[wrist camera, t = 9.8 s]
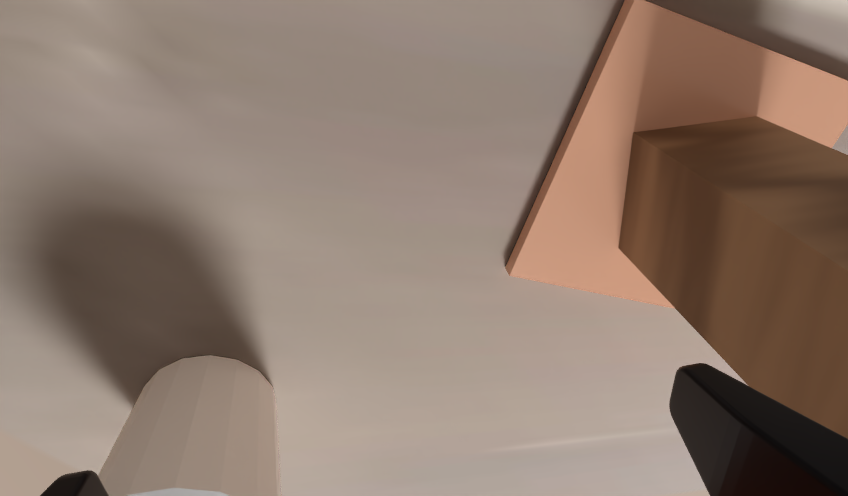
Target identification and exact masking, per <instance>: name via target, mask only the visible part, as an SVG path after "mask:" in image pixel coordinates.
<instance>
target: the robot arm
mask: <svg viewBox="0 0 848 496" xmlns="http://www.w3.org/2000/svg"><path fill="white" fill-rule="evenodd" d="M670 412H671V416H672V418H673V420H674V422H675V424H676V426H677V428H678V431H679V433H680V435H681V437H682V439H683V441H684V443H685V445H686V447H687V449H688V451H689V453H690V455H691V457H692V459H693V461H694V463H695V466H696V468H697V470H698V472H699V474H700V476H701V478H702V480H703V482H704V484H705V486H706V488H707V490H708V492H709V494H710V496H848V438H846V437H844V436H842V435H840V434H838V433H836V432H834V431H833V430H831V429H829V428H827V427H825V426H823V425H821V424H819V423H817V422H815V421H814V420H812V419H810V418H808V417H806V416H804V415H802V414H800V413H798V412H797V411H795V410H793V409H791V408H789V407H787V406H785V405H783V404H781V403H780V402H778V401H776V400H774V399H772V398H770V397H768V396H766V395H764V394H763V393H761V392H759V391H757V390H755V389H753V388H751V387H749V386H747V385H746V384H744V383H742V382H740V381H738V380H736V379H734V378H732V377H730V376H729V375H727V374H725V373H723V372H721V371H719V370H717V369H715V368H713V367H712V366H710V365H707V364H704V363H698V364H692V365H687V366H682V367H680V368H679V369H678V370H677V372H676V375H675V380H674V384H673V389H672V393H671V397H670ZM40 496H109V495H108V493H107V491H106V490H105V488H104V486H103V484H102V482H101V481H100V479H99V477H98V475H97V474H96V473H95V472H93V471H88V470H87V471H82V472H76V473H71V474H65V475H63V476H61V477H59V478H58V479H57V480H56V481H54V482H53V483H52V484H51V485H50V486H49V487H48V488H47V490H45V491H44V492H43V493H42V494H41V495H40Z"/></svg>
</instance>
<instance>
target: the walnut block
mask: <svg viewBox="0 0 848 496" xmlns="http://www.w3.org/2000/svg"><path fill="white" fill-rule="evenodd" d="M618 248H619V249H620V250H621V252H622V253H623V254H624V255H625V256H626V257H627V258H628V259H629V260H630V261H631V262H632V263H633V264H634V265H635V266H636V267H637V268H638V269H639V271H640V272H641V273H642V274H643V275H644V276H645V277H646V278H647V279H648V280H649V281H650V282H651V283H652V284H653V285H654V286H655V287H656V289H657V290H658V291H659V292H660V293H661V294H662V295H663V296H664V297H665V298H666V299H667V300H668V301H669V302H670V303H671V304H672V305H673V306H674V308H675V309H676V310H677V311H678V312H679V313H680V314H681V315H682V316H683V317H684V318H685V319H686V320H687V321H688V322H689V323H690V324H691V325H692V327H693V328H694V329H695V330H696V331H697V332H698V333H699V334H700V335H701V336H702V337H703V338H704V339H705V340H706V341H707V342H708V343H709V344H710V346H711V347H712V348H713V349H714V350H715V351H716V352H717V353H718V354H719V355H720V356H721V357H722V358H723V359H724V360H725V361H726V362H727V363H728V365H729V366H730V367H731V368H732V369H733V370H734V371H735V372H736V373H737V374H738V375H739V376H740V377H741V378H742V379H743V380H744V381H745V382H746V384H747V385H748V386H749V387H751V388H753V389H755V390H757V391H759V392H761V393H763V394H764V395H766V396H768V397H770V398H772V399H774V400H776V401H778V402H780V403H781V404H783V405H785V406H787V407H789V408H791V409H793V410H795V411H797V412H798V413H800V414H802V415H804V416H806V417H808V418H810V419H812V420H814V421H815V422H817V423H819V424H821V425H823V426H825V427H827V428H829V429H831V430H833V431H834V432H836V433H838V434H840V435H842V436H844V437H846V438H848V155H846V154H844V153H841V152H839V151H837V150H834V149H832V148H830V147H827V146H825V145H823V144H820V143H818V142H816V141H813V140H811V139H809V138H806V137H804V136H802V135H799V134H797V133H795V132H792V131H790V130H788V129H785V128H783V127H781V126H778V125H776V124H774V123H771V122H769V121H767V120H764V119H762V118H760V117H757V116H755V117H747V118H740V119H732V120H724V121H717V122H709V123H701V124H694V125H686V126H678V127H671V128H663V129H655V130H648V131H640V132H633V137H632V145H631V152H630V160H629V168H628V176H627V184H626V192H625V200H624V208H623V215H622V223H621V231H620V239H619V247H618Z"/></svg>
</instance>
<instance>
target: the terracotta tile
mask: <svg viewBox="0 0 848 496" xmlns="http://www.w3.org/2000/svg"><path fill="white" fill-rule="evenodd" d="M755 116H757V117H760V118H762V119H764V120H767V121H769V122H771V123H774V124H776V125H778V126H781V127H783V128H785V129H788V130H790V131H792V132H795V133H797V134H799V135H802V136H804V137H806V138H809V139H811V140H813V141H816V142H818V143H820V144H823V145H825V146H827V147H830V148H832V147H833V145H834V144H835V142H836V141H837V139H838V138H839V136H840V135H841V133H842V132H843V130H844V129H845V127H846V126H847V124H848V81H847V80H845V79H842V78H840V77H837V76H835V75H832V74H830V73H827V72H825V71H822V70H820V69H817V68H814V67H812V66H809V65H807V64H804V63H802V62H799V61H797V60H794V59H792V58H789V57H787V56H784V55H782V54H779V53H776V52H774V51H771V50H769V49H766V48H764V47H761V46H759V45H756V44H754V43H751V42H749V41H746V40H744V39H741V38H739V37H736V36H733V35H731V34H728V33H726V32H723V31H721V30H718V29H716V28H713V27H711V26H708V25H706V24H703V23H701V22H698V21H695V20H693V19H690V18H688V17H685V16H683V15H680V14H678V13H675V12H673V11H670V10H668V9H665V8H663V7H660V6H657V5H655V4H652V3H650V2H647V1H645V0H625V1H624V3H623V5H622V8H621V10H620V12H619V14H618V17H617V19H616V21H615V23H614V26H613V28H612V30H611V32H610V34H609V37H608V39H607V41H606V43H605V46H604V48H603V50H602V52H601V55H600V57H599V59H598V61H597V64H596V66H595V68H594V70H593V73H592V75H591V77H590V79H589V81H588V84H587V86H586V88H585V90H584V93H583V95H582V97H581V99H580V102H579V104H578V106H577V108H576V111H575V113H574V115H573V117H572V120H571V122H570V124H569V126H568V129H567V131H566V133H565V135H564V137H563V140H562V142H561V144H560V146H559V149H558V151H557V153H556V155H555V158H554V160H553V162H552V164H551V167H550V169H549V171H548V173H547V176H546V178H545V180H544V182H543V184H542V187H541V189H540V191H539V193H538V196H537V198H536V200H535V202H534V205H533V207H532V209H531V211H530V214H529V216H528V218H527V220H526V223H525V225H524V227H523V229H522V231H521V234H520V236H519V238H518V240H517V243H516V245H515V247H514V249H513V252H512V254H511V256H510V258H509V261H508V263H507V265H506V267H505V269H506V270H507V272H508V274H509V276H514V277H519V278H524V279H529V280H534V281H539V282H544V283H549V284H554V285H559V286H564V287H569V288H574V289H579V290H584V291H589V292H594V293H599V294H604V295H609V296H615V297H620V298H625V299H630V300H635V301H640V302H645V303H650V304H655V305H660V306H665V307H670V308H674V306H673V305H672V304H671V303H670V302H669V301H668V300H667V299H666V298H665V297H664V296H663V295H662V294H661V293H660V292H659V291H658V290H657V289H656V287H655V286H654V285H653V284H652V283H651V282H650V281H649V280H648V279H647V278H646V277H645V276H644V275H643V274H642V273H641V272H640V271H639V269H638V268H637V267H636V266H635V265H634V264H633V263H632V262H631V261H630V260H629V259H628V258H627V257H626V256H625V255H624V254H623V253H622V252H621V250H620V249H619V248H618V247H619V239H620V231H621V223H622V215H623V208H624V200H625V192H626V184H627V176H628V168H629V160H630V152H631V145H632V137H633V132H640V131H648V130H655V129H663V128H671V127H678V126H686V125H694V124H701V123H709V122H717V121H724V120H732V119H740V118H747V117H755Z"/></svg>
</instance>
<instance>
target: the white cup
mask: <svg viewBox="0 0 848 496" xmlns="http://www.w3.org/2000/svg"><path fill="white" fill-rule="evenodd" d="M98 477H99V479H100V481H101V482H102V484H103V486H104V488H105V490H106V491H107V493H108V495H109V496H282V495H281V476H280V457H279V438H278V419H277V404H276V399H275V394H274V390H273V387H272V385H271V384H270V383H269V382H268V381H267V379H266V378H265V377H264V376H263V375H262V374H261V372H260V371H258V370H256V369H254V368H253V367H251V366H249V365H247V364H245V363H243V362H241V361H239V360H237V359H231V358H225V357H219V356H213V355H206V356H198V357H190V358H182V359H180V360H178V361H176V362H174V363H172V364H170V365H168V366H165V367H163V368H161V369H159V370H158V371H157V372H156V374H155V375H154V376H153V377H152V378H151V379H150V380H149V381H148V382H147V384H146V385H145V386H144V388H143V390H142V392H141V394H140V395H139V397H138V399H137V401H136V403H135V405H134V407H133V409H132V411H131V413H130V415H129V417H128V419H127V421H126V423H125V425H124V427H123V429H122V430H121V432H120V434H119V436H118V438H117V440H116V442H115V444H114V446H113V448H112V450H111V452H110V454H109V456H108V458H107V460H106V462H105V463H104V465H103V467H102V469H101V471H100V473H99V475H98Z"/></svg>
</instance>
